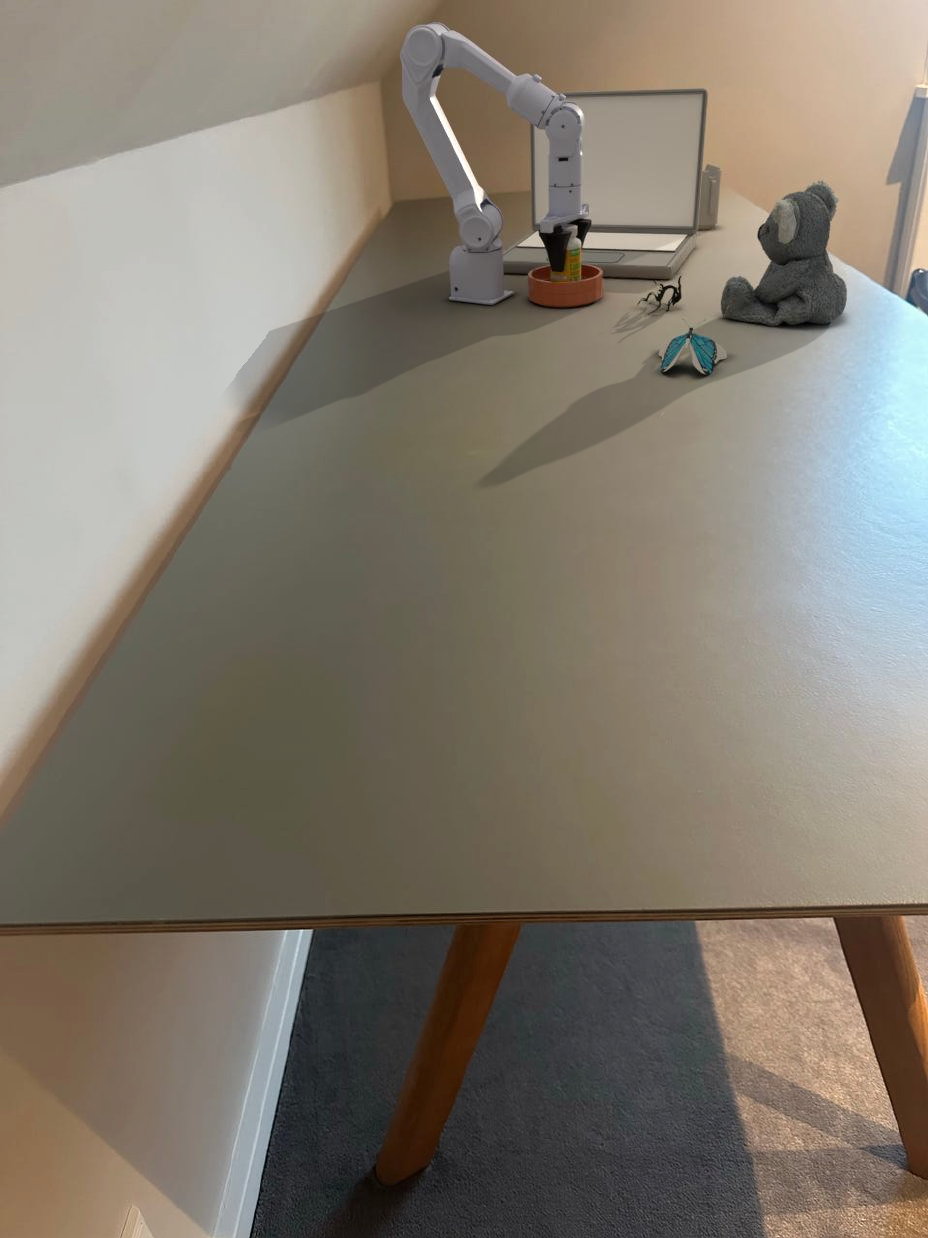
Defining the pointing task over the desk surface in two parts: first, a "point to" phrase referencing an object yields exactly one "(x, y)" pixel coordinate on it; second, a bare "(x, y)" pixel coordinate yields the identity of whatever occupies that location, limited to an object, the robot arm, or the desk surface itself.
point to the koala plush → (792, 265)
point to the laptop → (628, 182)
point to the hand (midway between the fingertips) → (565, 267)
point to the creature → (675, 297)
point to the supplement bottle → (570, 258)
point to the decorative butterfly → (693, 351)
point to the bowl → (565, 287)
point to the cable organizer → (709, 197)
